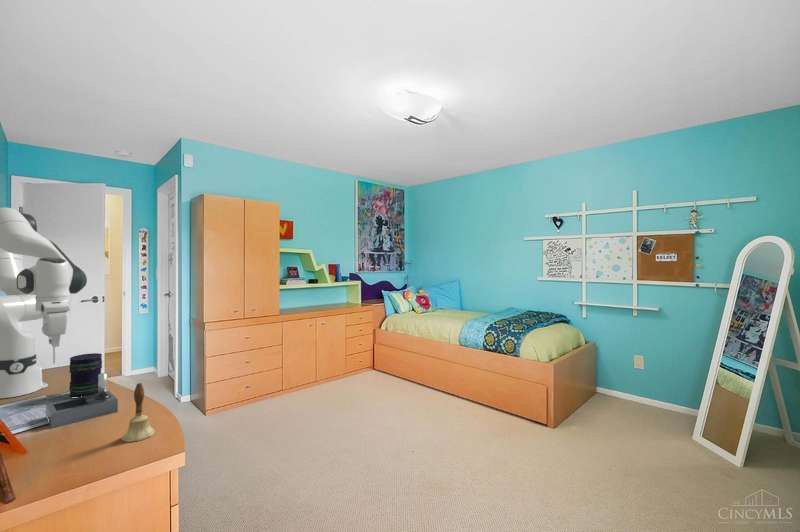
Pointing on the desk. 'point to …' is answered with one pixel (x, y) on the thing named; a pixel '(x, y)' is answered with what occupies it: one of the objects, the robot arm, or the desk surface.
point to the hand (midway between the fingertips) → (54, 345)
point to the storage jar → (85, 374)
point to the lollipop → (45, 332)
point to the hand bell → (138, 420)
